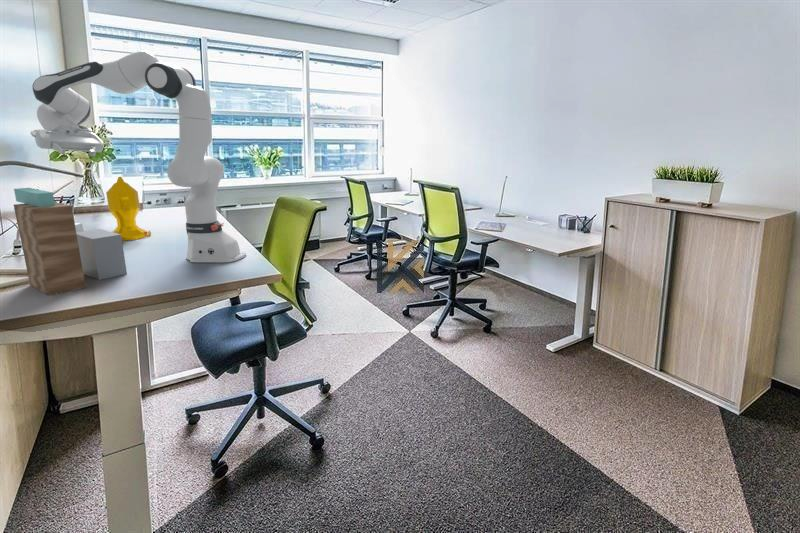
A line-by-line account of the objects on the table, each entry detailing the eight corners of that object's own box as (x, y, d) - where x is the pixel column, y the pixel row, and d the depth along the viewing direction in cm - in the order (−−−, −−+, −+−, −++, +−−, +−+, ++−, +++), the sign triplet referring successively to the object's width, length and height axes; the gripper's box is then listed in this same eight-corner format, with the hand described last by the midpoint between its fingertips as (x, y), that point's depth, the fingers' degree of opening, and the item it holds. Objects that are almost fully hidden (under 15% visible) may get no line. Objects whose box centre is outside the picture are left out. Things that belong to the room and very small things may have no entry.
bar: (55, 205, 146) (52, 192, 145) (39, 207, 143) (37, 193, 142) (31, 200, 157) (28, 187, 156) (16, 201, 154) (13, 188, 153)
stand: (85, 287, 153) (71, 205, 146) (49, 295, 145) (32, 209, 138) (65, 278, 162) (51, 201, 155) (30, 285, 154) (13, 204, 147)
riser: (126, 274, 168) (121, 234, 164) (99, 280, 161) (92, 238, 157) (106, 266, 177) (100, 228, 173) (78, 271, 170) (72, 232, 166)
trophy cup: (153, 230, 241) (146, 174, 233) (147, 240, 219) (138, 178, 211) (113, 233, 235) (105, 174, 227) (103, 243, 213) (93, 179, 205)
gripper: (29, 121, 164) (44, 142, 158) (95, 128, 180) (111, 147, 175) (27, 138, 167) (42, 159, 161) (92, 143, 183) (108, 163, 177)
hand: (78, 153), depth 168 cm, fingers open, 8 cm apart
